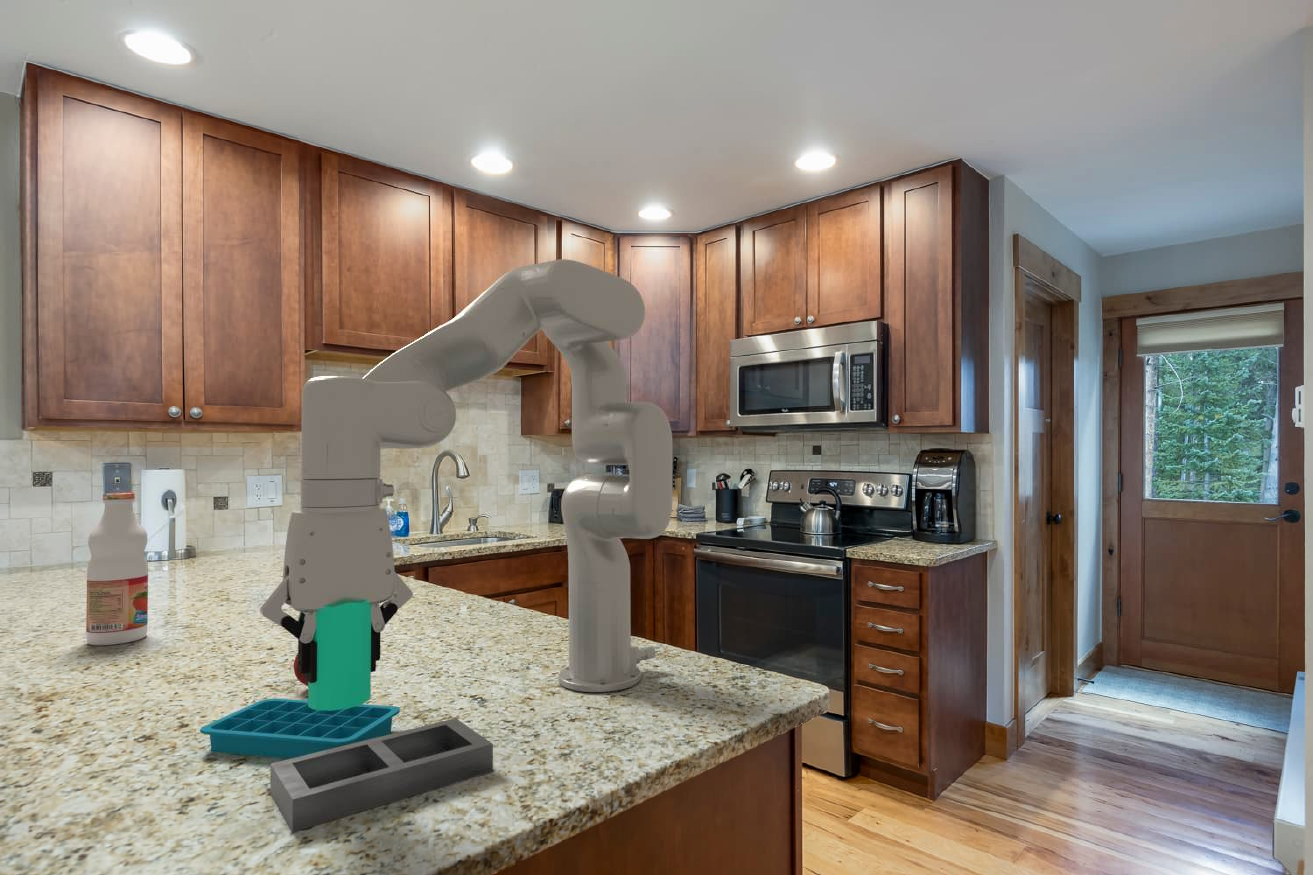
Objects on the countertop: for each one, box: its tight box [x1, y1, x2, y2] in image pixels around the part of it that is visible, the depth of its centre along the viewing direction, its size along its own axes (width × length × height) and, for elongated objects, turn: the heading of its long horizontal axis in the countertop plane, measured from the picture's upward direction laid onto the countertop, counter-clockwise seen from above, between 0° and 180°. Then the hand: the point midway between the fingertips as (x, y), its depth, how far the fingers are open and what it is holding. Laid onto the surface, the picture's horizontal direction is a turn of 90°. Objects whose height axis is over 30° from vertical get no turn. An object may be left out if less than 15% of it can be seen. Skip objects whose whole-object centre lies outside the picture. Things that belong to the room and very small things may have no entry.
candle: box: [307, 599, 372, 711], centre depth 74 cm, size 6×6×12 cm
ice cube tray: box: [199, 697, 401, 759], centre depth 88 cm, size 12×20×3 cm, turn 79°
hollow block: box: [269, 717, 494, 833], centre depth 76 cm, size 20×10×3 cm, turn 129°
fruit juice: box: [85, 492, 149, 646], centre depth 138 cm, size 9×9×28 cm
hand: (340, 672), depth 74 cm, fingers closed on candle, 4 cm apart
